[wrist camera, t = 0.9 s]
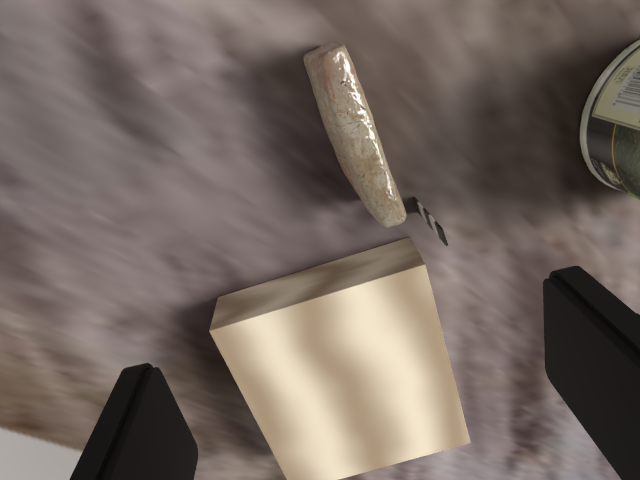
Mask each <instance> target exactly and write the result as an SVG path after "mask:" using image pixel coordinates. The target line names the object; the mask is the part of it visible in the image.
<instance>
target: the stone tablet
mask: <svg viewBox="0 0 640 480" xmlns="http://www.w3.org/2000/svg"><path fill="white" fill-rule="evenodd" d="M304 65H305V68H306V70H307V73H308V76H309V79H310V82H311V85H312V89H313V93H314V96H315V98H316V101H317V105H318V108H319V112H320V114H321V118H322V121H323V124H324V127H325V130H326V132H327V135H328V137H329V139H330V142H331V144H332V146H333V148H334V151H335V153H336V156H337V159H338V161H339V164H340V166H341V168H342V170H343V173H344V174H345V176H346V178H347V179H348V180H349V182H350V183H351V185H352V187H353V188H354V190H355V191H356V193H357V194H358V195H359V196H360V199H361V200H362V202H363V204H364V206H365V207H366V209H367V210H368V211H369V212H370V213H371V214H372V216H373V217H374V218H375V219H376V220H377V221H378V223H379V224H381V225H382V226H383V227H385V228H390V227H392V226H393V225H399V224H401V223H402V222H404V221H405V219H406V215H407V214H406V211H405V207H404V205H403V201H402V198H401V196H400V194H399V191H398V189H397V186H396V184H395V182H394V180H393V177H392V175H391V172H390V168H389V165H388V163H387V160H386V158H385V154H384V151H383V148H382V144H381V141H380V138H379V135H378V133H377V130H376V127H375V125H374V121H373V116H372V113H371V111H370V108H369V106H368V103H367V101H366V98H365V95H364V91H363V88H362V86H361V84H360V82H359V81H358V78H357V75H356V72H355V67H354V65H353V63H352V61H351V59H350V56H349V54H348V52H347V49H346V46H345V45H344V44H343V43H341V42H336V43H332V44H326V45H323V46H321V47H319V48H317V49H315V50H312V51H310V52H308V53H306V54H305V55H304ZM413 200H414V202H415V205H416V208H417V211H418V213H419V214H420V215H421V216H422V218H423V219H424V220H425V221H426V222H427V224H428V225H429V226H430V227H431V228H432V230H433V231H434V232H435V233H436V234H437V236H438V237H439V238H440V239H441V240H442V242H443V243H444V244H445V245H446V246H447V245H448V243H447V240H446V237H445V234H444V231H443V228H442V227H441V226H440V225H439V224H438V223H437V222H436V221H435V219H434V218H433V217H432V216H431V215H430V214H429V213H428V212H427V210H426V209H425V208H424V207H423V206H422V205H421V204H420V203H419V202H418V200H417V199H416V198H415V197H413Z"/></svg>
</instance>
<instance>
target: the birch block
mask: <svg viewBox="0 0 640 480" xmlns="http://www.w3.org/2000/svg"><path fill="white" fill-rule="evenodd" d="M209 332H210V333H211V335H212V337H213V339H214V341H215V343H216V345H217V347H218V349H219V351H220V353H221V354H222V356H223V358H224V360H225V362H226V364H227V366H228V368H229V370H230V372H231V374H232V376H233V377H234V379H235V381H236V383H237V385H238V387H239V389H240V391H241V393H242V395H243V397H244V398H245V400H246V402H247V404H248V406H249V408H250V410H251V412H252V414H253V416H254V418H255V419H256V421H257V423H258V425H259V427H260V429H261V431H262V433H263V435H264V437H265V439H266V440H267V442H268V444H269V446H270V448H271V450H272V452H273V454H274V456H275V458H276V460H277V461H278V463H279V465H280V467H281V469H282V471H283V473H284V475H285V477H286V479H287V480H338V479H342V478H346V477H349V476H353V475H356V474H360V473H364V472H367V471H371V470H375V469H378V468H382V467H385V466H389V465H393V464H396V463H400V462H403V461H407V460H411V459H414V458H418V457H421V456H425V455H429V454H432V453H436V452H440V451H443V450H447V449H450V448H454V447H458V446H461V445H465V444H468V443H470V439H469V435H468V431H467V427H466V423H465V419H464V415H463V411H462V407H461V403H460V399H459V395H458V391H457V387H456V384H455V380H454V376H453V372H452V368H451V364H450V360H449V356H448V352H447V348H446V344H445V340H444V336H443V332H442V328H441V324H440V321H439V317H438V313H437V309H436V305H435V301H434V297H433V293H432V289H431V285H430V281H429V277H428V273H427V269H426V265H425V263H424V261H423V260H422V258H421V256H420V254H419V253H418V251H417V249H416V247H415V246H414V244H413V242H412V240H411V239H410V237H408V238H405V239H402V240H398V241H395V242H392V243H389V244H386V245H383V246H379V247H376V248H373V249H370V250H367V251H363V252H360V253H357V254H354V255H351V256H348V257H344V258H341V259H338V260H335V261H332V262H328V263H325V264H322V265H319V266H316V267H313V268H309V269H306V270H303V271H300V272H297V273H293V274H290V275H287V276H284V277H281V278H278V279H274V280H271V281H268V282H265V283H262V284H259V285H255V286H252V287H249V288H246V289H243V290H239V291H236V292H233V293H230V294H227V295H224V296H220V297H218V299H217V303H216V307H215V311H214V315H213V319H212V322H211V326H210V330H209Z"/></svg>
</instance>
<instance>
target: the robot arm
mask: <svg viewBox="0 0 640 480" xmlns="http://www.w3.org/2000/svg"><path fill="white" fill-rule="evenodd" d="M543 302H544V342H545V369H546V373H547V376H548V378H549V380H550V382H551V383H552V385H553V386H554V388H555V389H556V390H557V392H558V393H559V394H560V396H561V397H562V399H563V400H564V401H565V403H566V404H567V405H568V407H569V408H570V409H571V411H572V412H573V414H574V415H575V416H576V418H577V419H578V420H579V422H580V423H581V425H582V426H583V427H584V429H585V430H586V431H587V433H588V434H589V436H590V437H591V438H592V440H593V441H594V442H595V444H596V445H597V447H598V448H599V449H600V451H601V452H602V453H603V455H604V456H605V457H606V459H607V460H608V462H609V463H610V464H611V466H612V467H613V468H614V470H615V471H616V473H617V474H618V475H619V477H620V478H621V479H622V480H640V315H639V314H637V313H635V312H634V311H633V310H631V309H630V308H629V307H628V306H627V305H625V304H624V303H623V302H622V301H621V300H619V299H618V298H617V297H616V296H615V295H613V294H612V293H611V292H610V291H609V290H607V289H606V288H605V287H604V286H603V285H601V284H600V283H599V282H598V281H597V280H595V279H594V278H593V277H592V276H591V275H589V274H588V273H587V272H586V271H585V270H583V269H582V268H581V267H579V266H572V267H568V268H564V269H559V270H555V271H552V272H551V273H550V275H549V278H548V279H545V280H544V282H543ZM197 460H198V448H197V444H196V442H195V440H194V438H193V436H192V433H191V431H190V429H189V427H188V425H187V423H186V421H185V419H184V417H183V415H182V413H181V411H180V409H179V407H178V405H177V403H176V401H175V398H174V396H173V394H172V392H171V390H170V388H169V386H168V384H167V382H166V380H165V378H164V376H163V374H162V372H161V370H160V369H159V368H158V367H155V368H153V366H152V365H151V364H149V363H145V364H141V365H136V366H132V367H127V368H125V369H123V370H122V372H121V374H120V376H119V378H118V380H117V382H116V384H115V386H114V388H113V390H112V392H111V394H110V397H109V399H108V401H107V403H106V405H105V407H104V409H103V411H102V413H101V415H100V417H99V419H98V422H97V424H96V426H95V428H94V430H93V432H92V434H91V436H90V438H89V440H88V442H87V444H86V446H85V449H84V451H83V453H82V455H81V457H80V459H79V461H78V463H77V465H76V467H75V470H74V471H73V473H72V476H71V478H70V480H194V475H195V470H196V465H197Z"/></svg>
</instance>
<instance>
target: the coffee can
mask: <svg viewBox="0 0 640 480" xmlns="http://www.w3.org/2000/svg"><path fill="white" fill-rule="evenodd" d="M580 146H581V151H582V155H583V158H584V160H585V162H586V164H587V166H588V168H589V170H590V171H591V172H592V174H594V176H595V177H596V178H597V179H599V180H600V181H601V182H603V183H604V184H606V185H608V186H610V187H612V188H614V189H617V190H620V191H623V192H625V193H627V194H629V195H631V196H633V197H635V198H637V199H639V200H640V39H639V40H638V41H636V42H635V43H633V44H632V45H630V46H629V47H628V48H626V49H624V50H623V51H622V53H620V54H619V55H618V56H617V57H616V58H615V59H614V60H613V61H612V62H611V63H610V64H609V65H608V67H607V68H606V69H605V70H604V72H603V73H602V74H601V76H600V77H599V78H598V80H597V81H596V83H595V85H594V86H593V88H592V90H591V92H590V94H589V96H588V99H587V101H586V104H585V107H584V109H583V113H582V119H581V125H580Z"/></svg>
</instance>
